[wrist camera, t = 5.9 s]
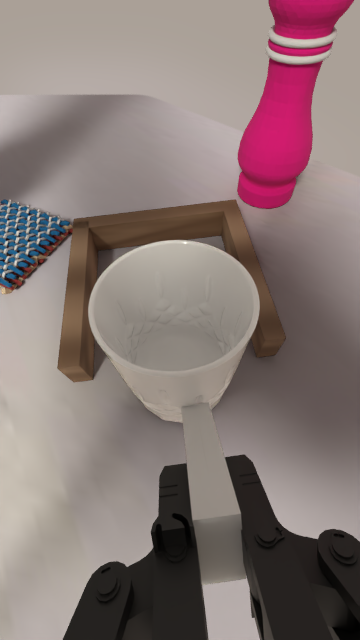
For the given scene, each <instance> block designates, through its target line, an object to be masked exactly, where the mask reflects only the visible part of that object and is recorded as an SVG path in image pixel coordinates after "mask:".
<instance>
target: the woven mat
mask: <svg viewBox="0 0 360 640" xmlns="http://www.w3.org/2000/svg"><path fill="white" fill-rule="evenodd" d="M1 203H2V204H1V205H0V288H1V287H2V286H3V287H5V288H3V289H1V292H2V294H8V293H11V292H12V291H13V290H14V289H15V288H16V287H17V286H18V285H19V286H21V285H22V281H23V280H24V279H26V278H27V276H28V275H29V274H30V273H31V272H32V271H33V270H34V269H35V268H36V267H37V265H38V263H42V262H43V261H44V260H43V259H45V258H46V257H47V256H48V255H49V254H50V253H51V252H52V251H53V250H54V249H55V248H56V246H57V245H58V244H59V243H60V242H61V241H62V240H63V239H64V238H65V237H66V236H67V235H68V233H69V234H70V233H72V231H73V229H72V228H73V226H72V225H70V223H69V222H67V221H65V220H64V219H60V216H58V217H56V216H52V217H49V216H48V215H49V213H48V212H47V213H46V214H45V212H40V210H39V209H38V210H37V211H35V209H34V208H30V209H29V207H30V206H28V205H27V207H26V206H19V202H17V204H16V202H12V200H9V202H8V201H7V200H2V201H1ZM4 203H5V204H4ZM43 217H44V218H43ZM63 225H64V226H63ZM56 235H57V236H56ZM59 235H60V236H59ZM50 244H51V245H50ZM49 245H50V246H49ZM45 249H46V250H45ZM28 264H29V265H30V266H29V267H28ZM21 270H23V271H24V272H22V271H21ZM15 275H16V276H18V278H17V279H15V278H16V276H15ZM8 281H11V282H13V283H12V284H10V283H8Z"/></svg>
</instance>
